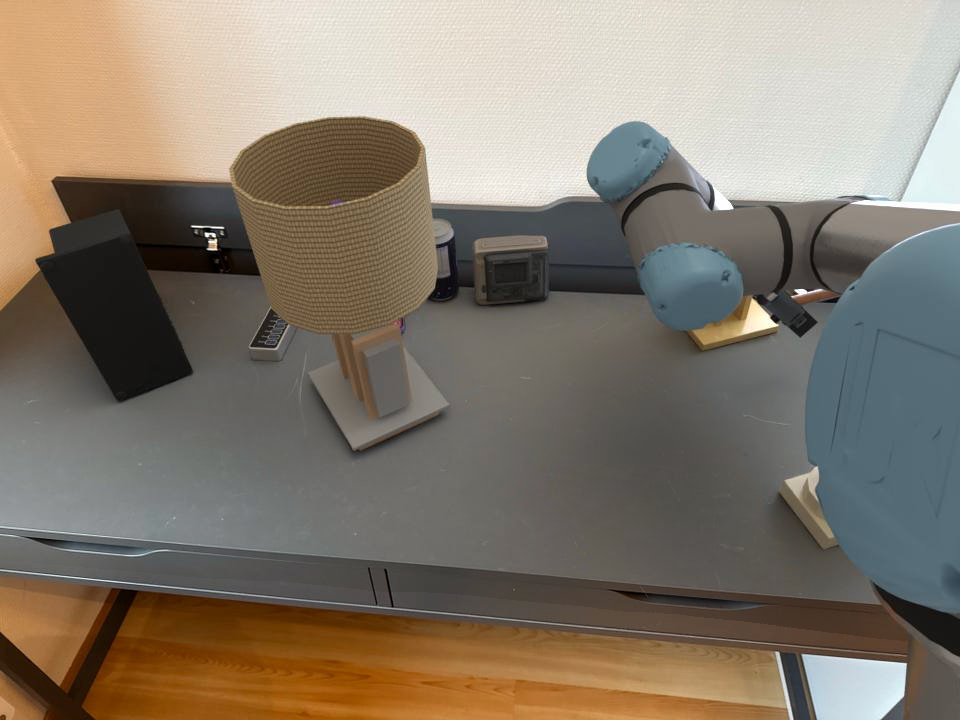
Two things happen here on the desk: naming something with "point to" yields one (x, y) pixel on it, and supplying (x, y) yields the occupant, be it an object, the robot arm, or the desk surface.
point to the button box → (808, 506)
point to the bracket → (735, 326)
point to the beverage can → (445, 261)
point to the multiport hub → (271, 338)
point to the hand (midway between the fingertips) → (801, 322)
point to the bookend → (113, 304)
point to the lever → (811, 296)
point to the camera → (511, 269)
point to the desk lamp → (347, 258)
